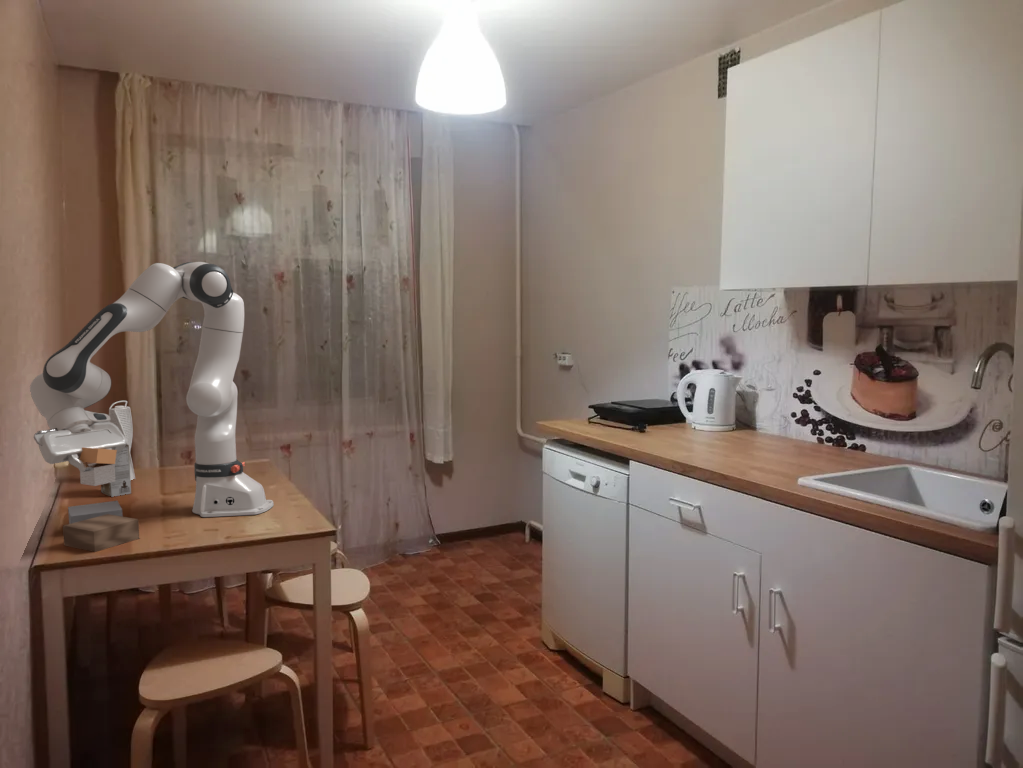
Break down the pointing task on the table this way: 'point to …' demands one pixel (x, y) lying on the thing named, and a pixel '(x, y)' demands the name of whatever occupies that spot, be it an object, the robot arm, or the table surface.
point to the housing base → (98, 474)
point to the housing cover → (98, 455)
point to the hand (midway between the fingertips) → (99, 467)
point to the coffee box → (120, 475)
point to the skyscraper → (123, 426)
